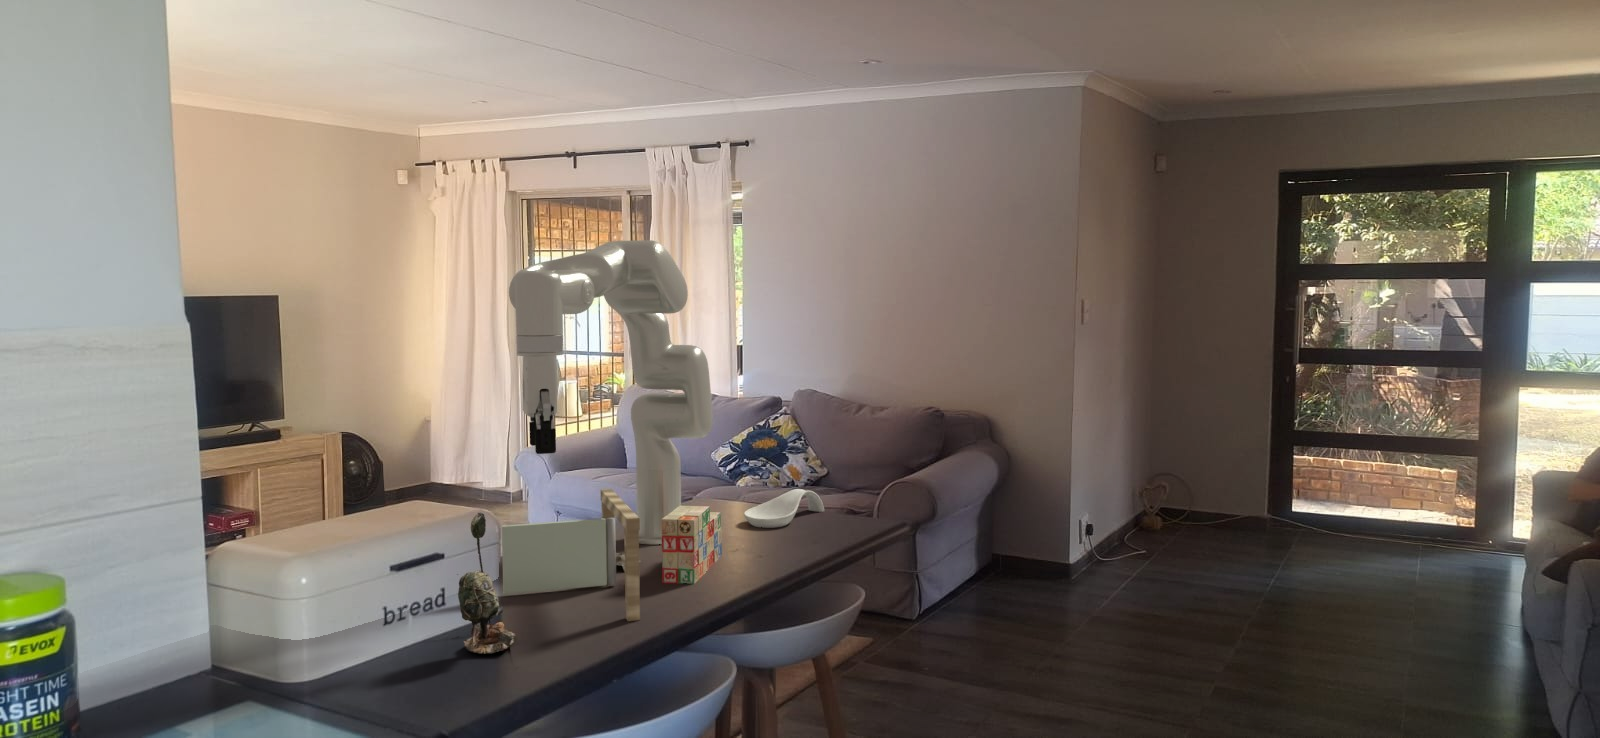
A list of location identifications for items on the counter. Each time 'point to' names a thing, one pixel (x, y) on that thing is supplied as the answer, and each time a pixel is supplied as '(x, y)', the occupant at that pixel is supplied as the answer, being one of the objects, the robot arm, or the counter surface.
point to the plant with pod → (482, 604)
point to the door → (558, 555)
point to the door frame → (626, 548)
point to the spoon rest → (782, 509)
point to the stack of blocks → (690, 543)
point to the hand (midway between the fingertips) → (542, 449)
